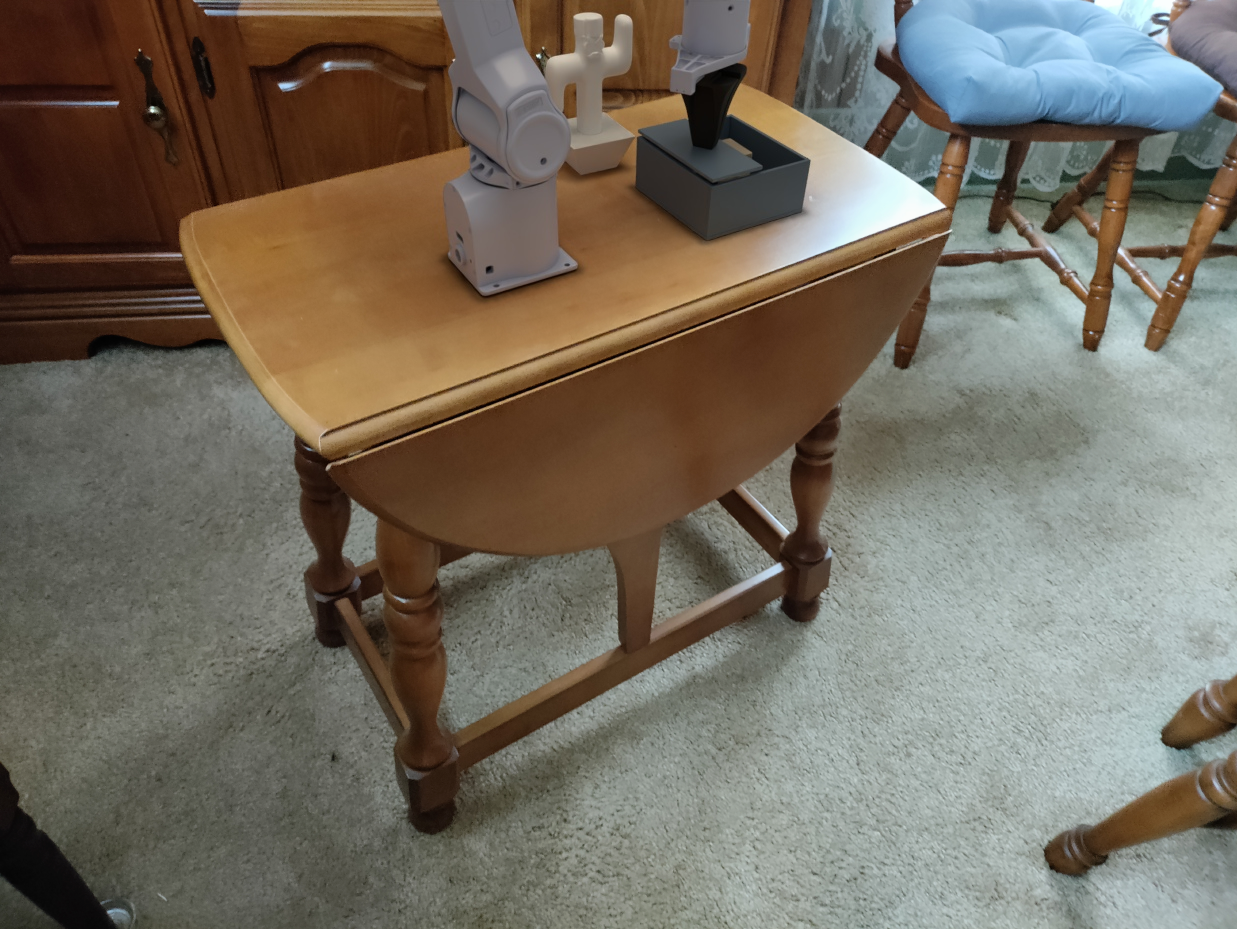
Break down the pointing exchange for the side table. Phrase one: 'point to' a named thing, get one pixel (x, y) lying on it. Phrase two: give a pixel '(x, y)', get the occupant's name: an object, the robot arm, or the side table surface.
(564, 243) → the side table surface
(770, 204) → the carton
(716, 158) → the flap
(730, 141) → the block
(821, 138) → the side table surface
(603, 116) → the figurine
